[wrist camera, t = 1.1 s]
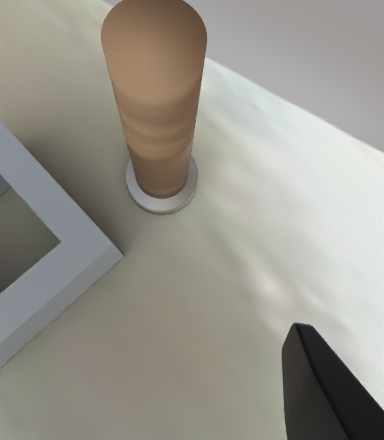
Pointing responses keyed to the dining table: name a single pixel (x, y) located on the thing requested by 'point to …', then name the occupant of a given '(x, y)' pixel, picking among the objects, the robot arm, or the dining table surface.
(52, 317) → the tool holder
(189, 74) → the cleaning tool
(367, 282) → the dining table surface
